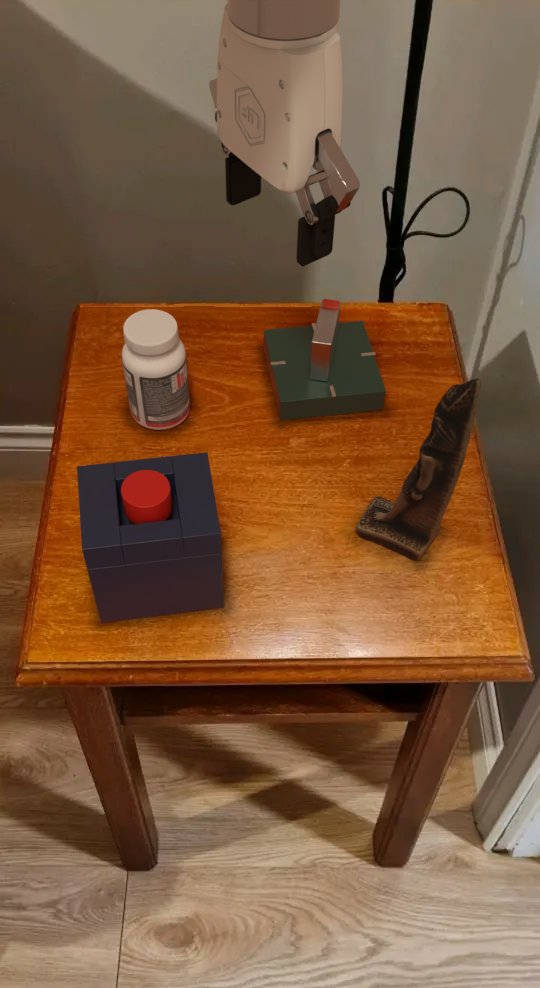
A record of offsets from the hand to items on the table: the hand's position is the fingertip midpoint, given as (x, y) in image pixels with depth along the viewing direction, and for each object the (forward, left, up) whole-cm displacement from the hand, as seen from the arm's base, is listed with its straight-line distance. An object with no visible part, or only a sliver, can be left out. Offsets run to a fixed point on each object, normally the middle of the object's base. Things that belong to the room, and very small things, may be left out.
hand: (278, 227), depth 75 cm
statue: (+8, -20, -17) cm, 28 cm away
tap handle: (+5, 0, -14) cm, 15 cm away
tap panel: (+5, 0, -17) cm, 18 cm away
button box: (-13, -21, -17) cm, 30 cm away
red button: (-13, -21, -8) cm, 26 cm away
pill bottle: (-11, -2, -17) cm, 21 cm away
